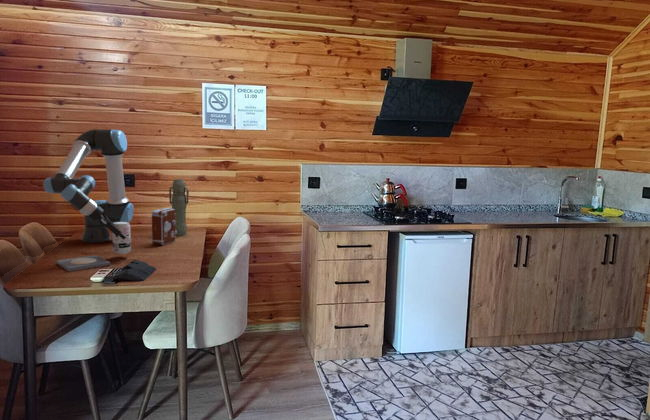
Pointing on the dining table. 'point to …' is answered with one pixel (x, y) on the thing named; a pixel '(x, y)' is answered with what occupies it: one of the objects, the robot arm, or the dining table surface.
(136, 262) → the crumpled black cloth
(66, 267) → the board
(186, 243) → the dining table surface
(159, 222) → the cine camera
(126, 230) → the supplement can
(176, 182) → the thermos
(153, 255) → the dining table surface
